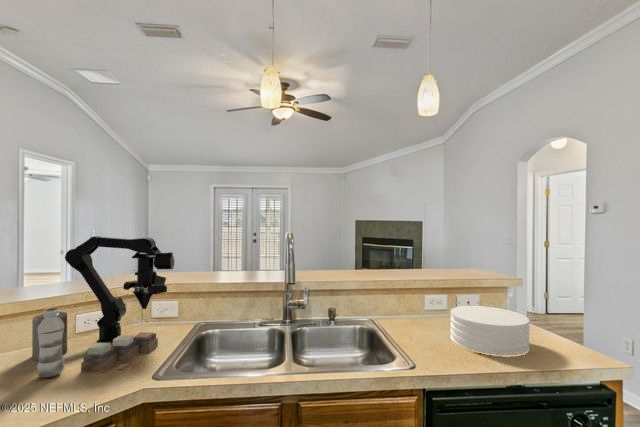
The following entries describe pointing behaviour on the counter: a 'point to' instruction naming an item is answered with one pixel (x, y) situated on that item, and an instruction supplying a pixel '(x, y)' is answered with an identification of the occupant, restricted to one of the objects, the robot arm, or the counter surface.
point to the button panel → (119, 355)
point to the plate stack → (490, 330)
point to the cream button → (123, 340)
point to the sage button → (99, 349)
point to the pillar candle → (35, 338)
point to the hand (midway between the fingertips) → (144, 308)
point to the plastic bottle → (50, 344)
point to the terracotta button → (144, 335)
